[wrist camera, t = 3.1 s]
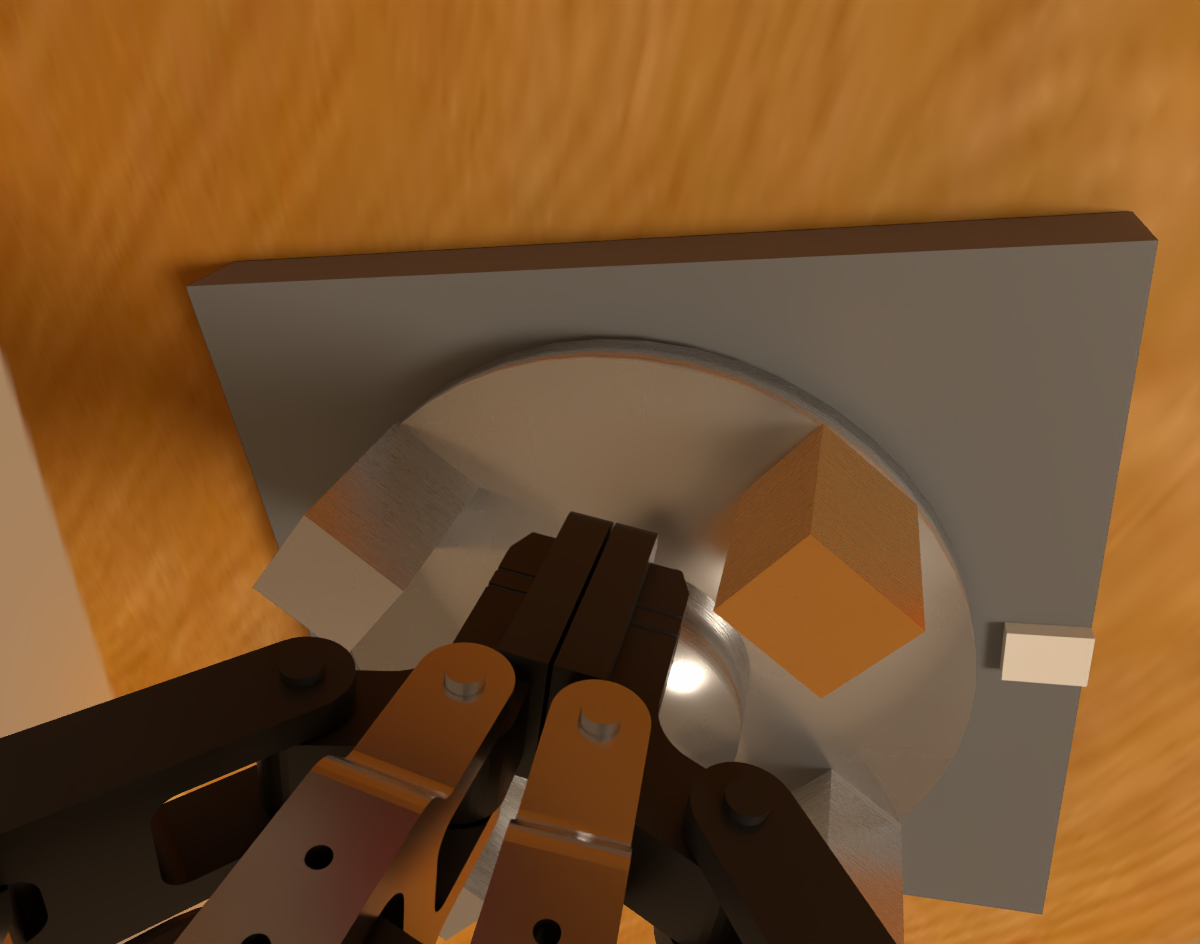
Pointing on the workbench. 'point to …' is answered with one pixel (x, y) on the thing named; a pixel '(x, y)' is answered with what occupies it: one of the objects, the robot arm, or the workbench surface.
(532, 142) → the workbench surface
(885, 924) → the lugged metal dish
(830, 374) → the base plate
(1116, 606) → the workbench surface
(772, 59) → the workbench surface
